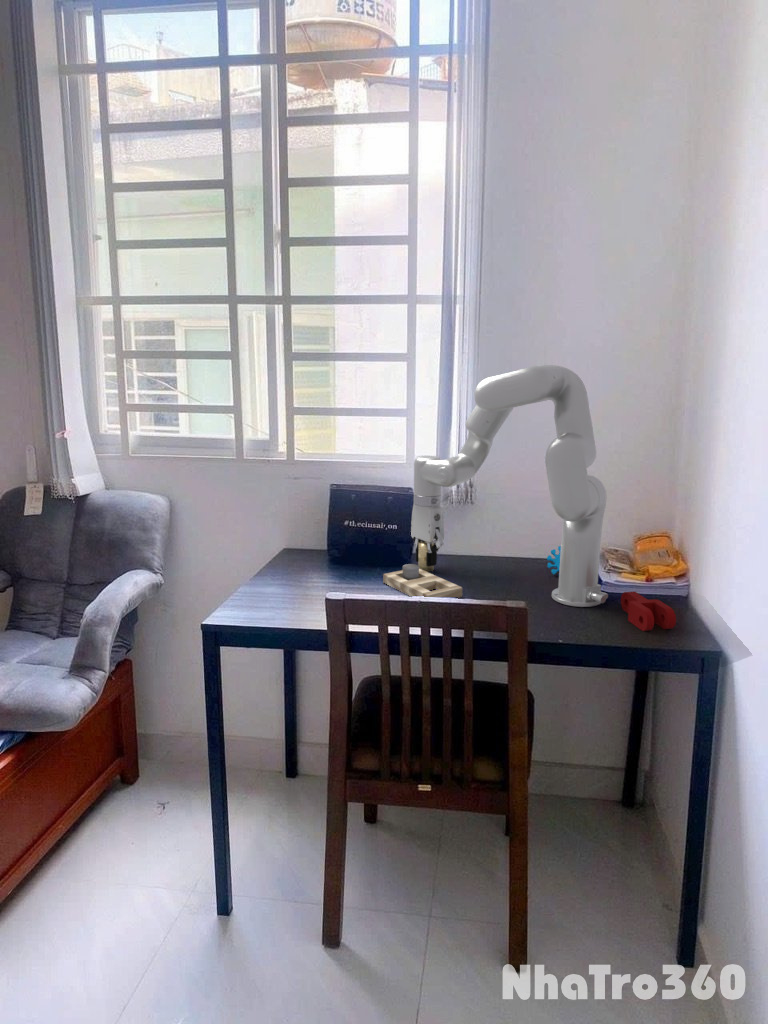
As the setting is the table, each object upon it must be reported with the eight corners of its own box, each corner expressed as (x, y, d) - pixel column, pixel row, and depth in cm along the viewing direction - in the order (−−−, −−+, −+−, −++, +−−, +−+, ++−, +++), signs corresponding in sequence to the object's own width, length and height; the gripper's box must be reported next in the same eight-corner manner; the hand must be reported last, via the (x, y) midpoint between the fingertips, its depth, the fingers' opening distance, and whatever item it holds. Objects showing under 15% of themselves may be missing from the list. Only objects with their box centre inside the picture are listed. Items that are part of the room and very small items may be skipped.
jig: (462, 596, 187) (462, 578, 186) (427, 605, 181) (427, 585, 180) (416, 575, 204) (416, 558, 202) (383, 582, 198) (383, 565, 197)
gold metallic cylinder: (436, 570, 208) (437, 543, 207) (424, 573, 206) (424, 545, 204) (427, 566, 212) (427, 539, 210) (415, 569, 210) (415, 542, 208)
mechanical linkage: (674, 632, 166) (676, 611, 165) (645, 634, 164) (647, 613, 163) (637, 607, 181) (639, 588, 180) (611, 609, 180) (612, 589, 179)
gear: (542, 571, 203) (551, 540, 207) (542, 580, 208) (551, 550, 212) (582, 581, 199) (591, 550, 204) (581, 590, 204) (590, 560, 209)
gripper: (456, 504, 199) (454, 568, 204) (420, 493, 213) (419, 554, 217) (434, 507, 195) (433, 573, 200) (398, 496, 209) (398, 558, 213)
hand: (426, 562), depth 208 cm, fingers closed on gold metallic cylinder, 4 cm apart
